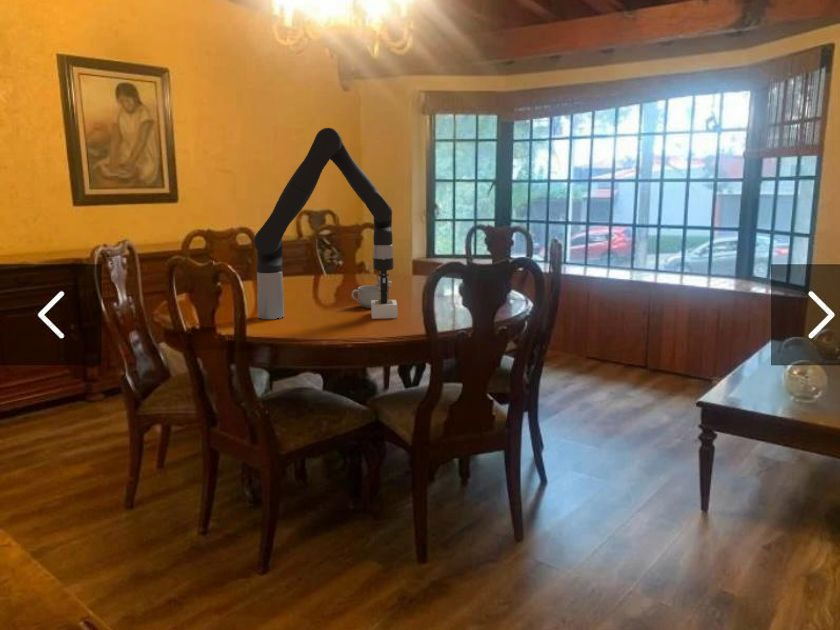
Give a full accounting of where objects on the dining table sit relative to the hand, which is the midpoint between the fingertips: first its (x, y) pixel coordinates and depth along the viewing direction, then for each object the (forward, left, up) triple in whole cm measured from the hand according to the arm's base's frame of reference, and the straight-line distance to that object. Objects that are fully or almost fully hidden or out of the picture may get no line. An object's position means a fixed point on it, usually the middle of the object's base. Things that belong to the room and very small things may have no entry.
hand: (383, 302), depth 253 cm
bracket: (0, 0, -4) cm, 4 cm away
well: (0, 0, -5) cm, 5 cm away
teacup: (-6, +19, -5) cm, 21 cm away
